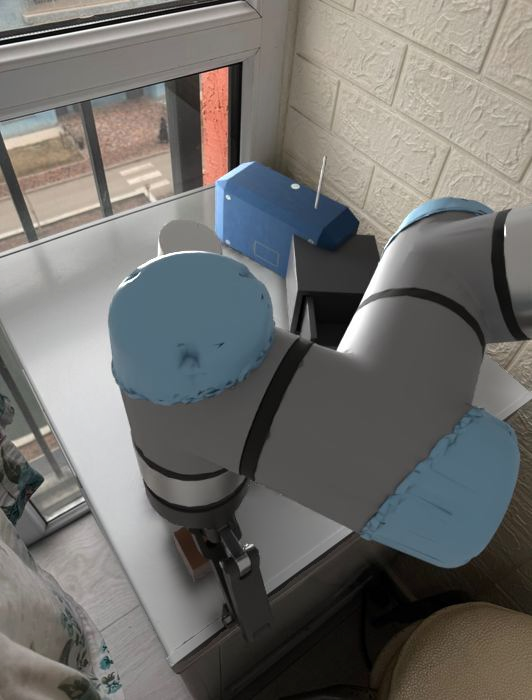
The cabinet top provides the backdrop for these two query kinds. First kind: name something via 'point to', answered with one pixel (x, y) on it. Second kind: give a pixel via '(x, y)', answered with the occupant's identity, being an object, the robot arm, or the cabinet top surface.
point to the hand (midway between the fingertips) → (200, 551)
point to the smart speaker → (187, 238)
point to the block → (191, 554)
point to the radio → (276, 215)
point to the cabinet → (328, 272)
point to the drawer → (327, 319)
